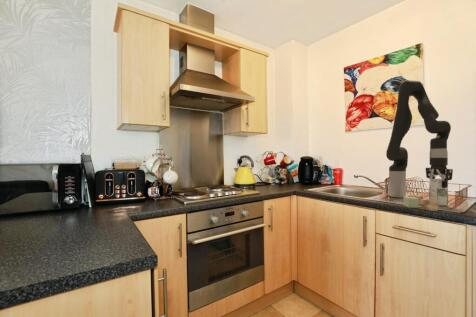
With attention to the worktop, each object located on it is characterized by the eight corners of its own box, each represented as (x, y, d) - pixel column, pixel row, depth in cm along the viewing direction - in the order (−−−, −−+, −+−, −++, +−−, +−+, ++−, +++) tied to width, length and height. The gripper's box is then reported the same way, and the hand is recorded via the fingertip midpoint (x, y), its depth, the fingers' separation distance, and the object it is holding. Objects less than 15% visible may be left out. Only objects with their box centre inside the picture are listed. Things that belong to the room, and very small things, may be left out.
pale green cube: (408, 203, 130) (408, 195, 130) (412, 202, 132) (412, 194, 132) (418, 205, 126) (418, 196, 126) (422, 204, 128) (422, 195, 128)
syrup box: (439, 203, 128) (439, 178, 128) (448, 206, 122) (448, 179, 122) (429, 203, 129) (428, 178, 129) (437, 206, 123) (436, 179, 123)
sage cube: (403, 205, 127) (403, 196, 126) (413, 205, 126) (413, 196, 125) (408, 207, 122) (408, 198, 122) (418, 207, 121) (418, 198, 121)
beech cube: (420, 208, 119) (420, 199, 119) (428, 208, 120) (428, 198, 120) (431, 211, 114) (430, 201, 114) (438, 210, 115) (438, 200, 115)
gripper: (420, 156, 132) (420, 185, 132) (444, 157, 118) (444, 189, 118) (432, 156, 133) (432, 185, 133) (458, 156, 118) (458, 188, 118)
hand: (438, 186), depth 125 cm, fingers closed on syrup box, 6 cm apart
